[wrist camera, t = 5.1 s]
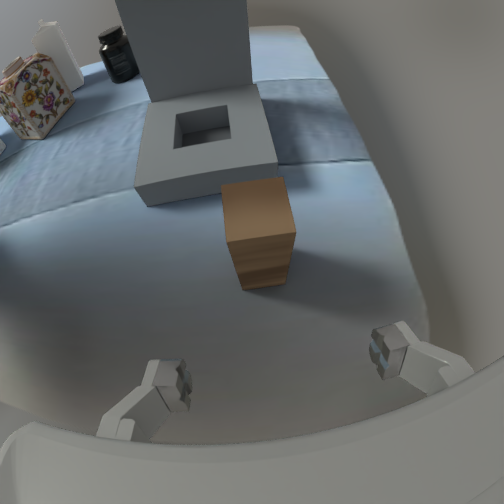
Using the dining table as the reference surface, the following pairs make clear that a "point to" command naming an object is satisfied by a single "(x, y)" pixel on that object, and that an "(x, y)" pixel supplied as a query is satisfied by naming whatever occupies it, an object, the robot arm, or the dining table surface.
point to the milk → (58, 53)
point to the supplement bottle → (117, 55)
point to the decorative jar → (33, 96)
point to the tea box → (2, 146)
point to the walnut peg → (259, 231)
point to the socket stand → (196, 99)
